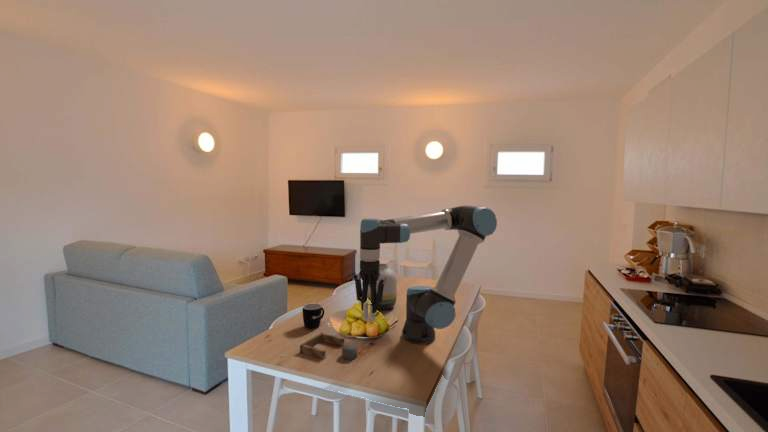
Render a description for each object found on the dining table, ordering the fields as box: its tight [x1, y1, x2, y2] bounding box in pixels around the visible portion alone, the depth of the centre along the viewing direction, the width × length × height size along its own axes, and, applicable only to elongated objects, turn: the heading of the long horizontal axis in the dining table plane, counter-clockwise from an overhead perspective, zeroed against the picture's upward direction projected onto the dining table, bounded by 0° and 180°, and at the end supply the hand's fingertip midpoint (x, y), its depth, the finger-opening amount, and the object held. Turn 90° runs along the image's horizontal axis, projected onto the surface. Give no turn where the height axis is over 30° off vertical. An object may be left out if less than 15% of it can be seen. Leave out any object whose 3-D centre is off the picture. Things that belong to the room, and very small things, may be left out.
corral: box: [299, 332, 345, 360], centre depth 149 cm, size 12×14×3 cm
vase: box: [367, 263, 398, 310], centre depth 202 cm, size 17×17×24 cm
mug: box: [302, 302, 325, 330], centre depth 172 cm, size 12×9×10 cm
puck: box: [341, 344, 358, 361], centre depth 143 cm, size 6×6×4 cm
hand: (368, 319), depth 137 cm, fingers open, 2 cm apart
